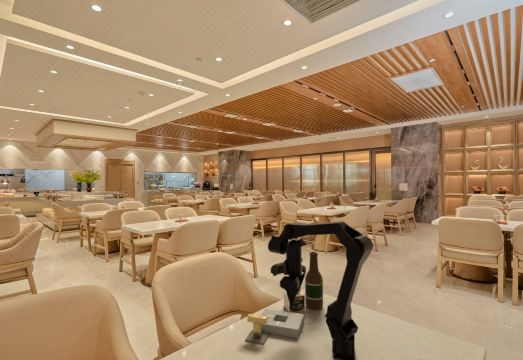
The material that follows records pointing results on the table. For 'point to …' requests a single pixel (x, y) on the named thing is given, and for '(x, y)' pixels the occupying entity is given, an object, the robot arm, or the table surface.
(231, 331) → the table surface
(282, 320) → the grey socket block
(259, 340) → the pad
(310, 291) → the beer bottle
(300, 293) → the medicine bottle
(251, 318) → the t key
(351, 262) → the robot arm
